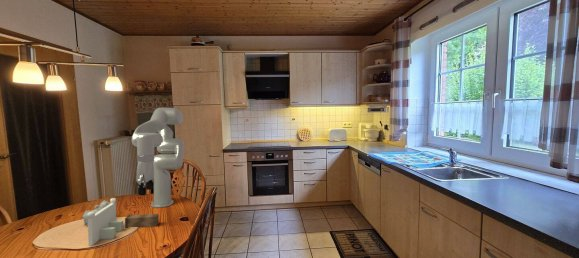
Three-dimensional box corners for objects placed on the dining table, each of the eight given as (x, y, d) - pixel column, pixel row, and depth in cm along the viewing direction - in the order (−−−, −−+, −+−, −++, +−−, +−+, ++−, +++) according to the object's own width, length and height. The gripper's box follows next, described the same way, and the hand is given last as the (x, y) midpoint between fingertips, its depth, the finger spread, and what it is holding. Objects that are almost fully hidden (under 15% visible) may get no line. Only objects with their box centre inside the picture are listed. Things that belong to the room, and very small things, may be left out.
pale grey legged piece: (112, 225, 127) (111, 198, 126) (128, 224, 128) (127, 197, 128) (87, 246, 107) (86, 213, 106) (106, 244, 108) (105, 213, 108)
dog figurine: (114, 219, 134) (114, 199, 134) (85, 228, 124) (85, 206, 123) (110, 217, 137) (110, 197, 137) (81, 225, 126) (80, 204, 126)
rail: (125, 228, 124) (124, 218, 124) (128, 224, 128) (128, 215, 128) (155, 226, 127) (155, 216, 126) (158, 223, 131) (158, 213, 130)
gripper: (144, 156, 134) (144, 187, 134) (129, 161, 117) (130, 197, 117) (159, 155, 135) (159, 187, 136) (147, 161, 118) (147, 197, 119)
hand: (146, 192), depth 127 cm, fingers open, 9 cm apart
